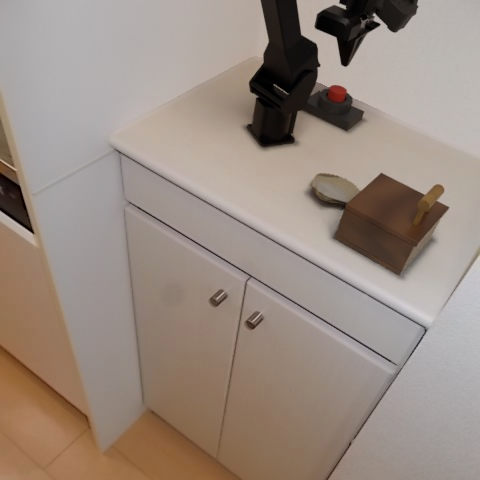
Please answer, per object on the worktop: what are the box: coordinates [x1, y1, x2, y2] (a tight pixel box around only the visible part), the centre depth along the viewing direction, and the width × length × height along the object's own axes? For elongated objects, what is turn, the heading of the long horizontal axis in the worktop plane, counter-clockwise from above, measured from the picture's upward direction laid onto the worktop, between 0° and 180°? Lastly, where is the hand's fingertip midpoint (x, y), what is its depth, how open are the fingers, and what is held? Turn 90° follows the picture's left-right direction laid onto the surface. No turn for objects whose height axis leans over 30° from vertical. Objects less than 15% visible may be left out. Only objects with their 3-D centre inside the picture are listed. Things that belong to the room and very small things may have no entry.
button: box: [327, 84, 348, 102], centre depth 95 cm, size 3×3×2 cm
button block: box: [302, 87, 365, 132], centre depth 97 cm, size 10×6×4 cm, turn 54°
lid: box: [344, 172, 450, 247], centre depth 70 cm, size 11×11×5 cm
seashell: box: [309, 172, 361, 205], centre depth 80 cm, size 8×3×8 cm
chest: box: [333, 208, 442, 276], centre depth 74 cm, size 11×11×5 cm
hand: (344, 65), depth 91 cm, fingers closed
